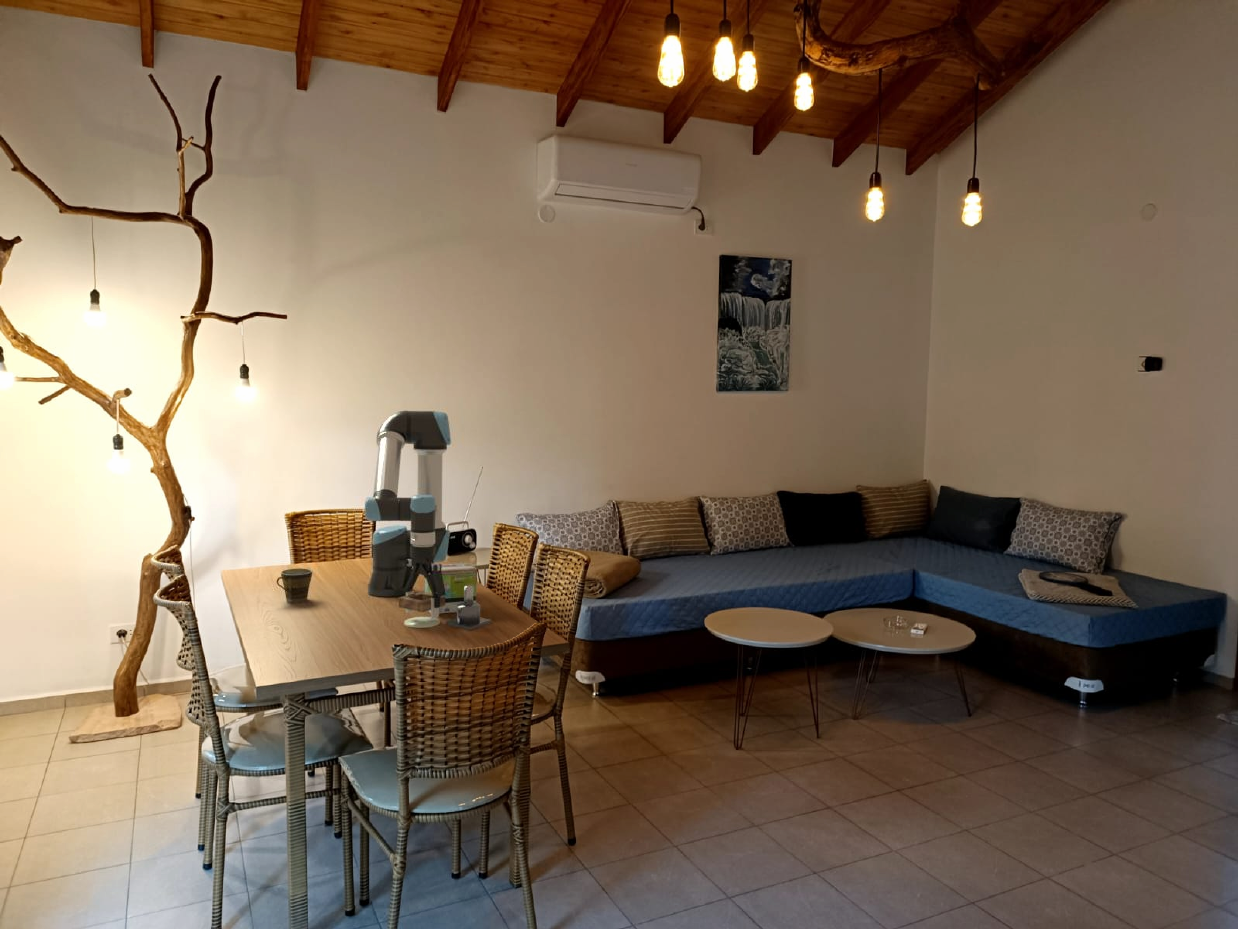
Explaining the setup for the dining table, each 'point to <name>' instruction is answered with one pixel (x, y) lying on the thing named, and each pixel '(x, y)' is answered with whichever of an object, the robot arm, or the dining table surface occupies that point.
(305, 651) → the dining table surface
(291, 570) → the ceramic cup
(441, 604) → the walnut link
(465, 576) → the tea box
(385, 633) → the dining table surface
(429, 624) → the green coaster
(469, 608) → the peg stand
